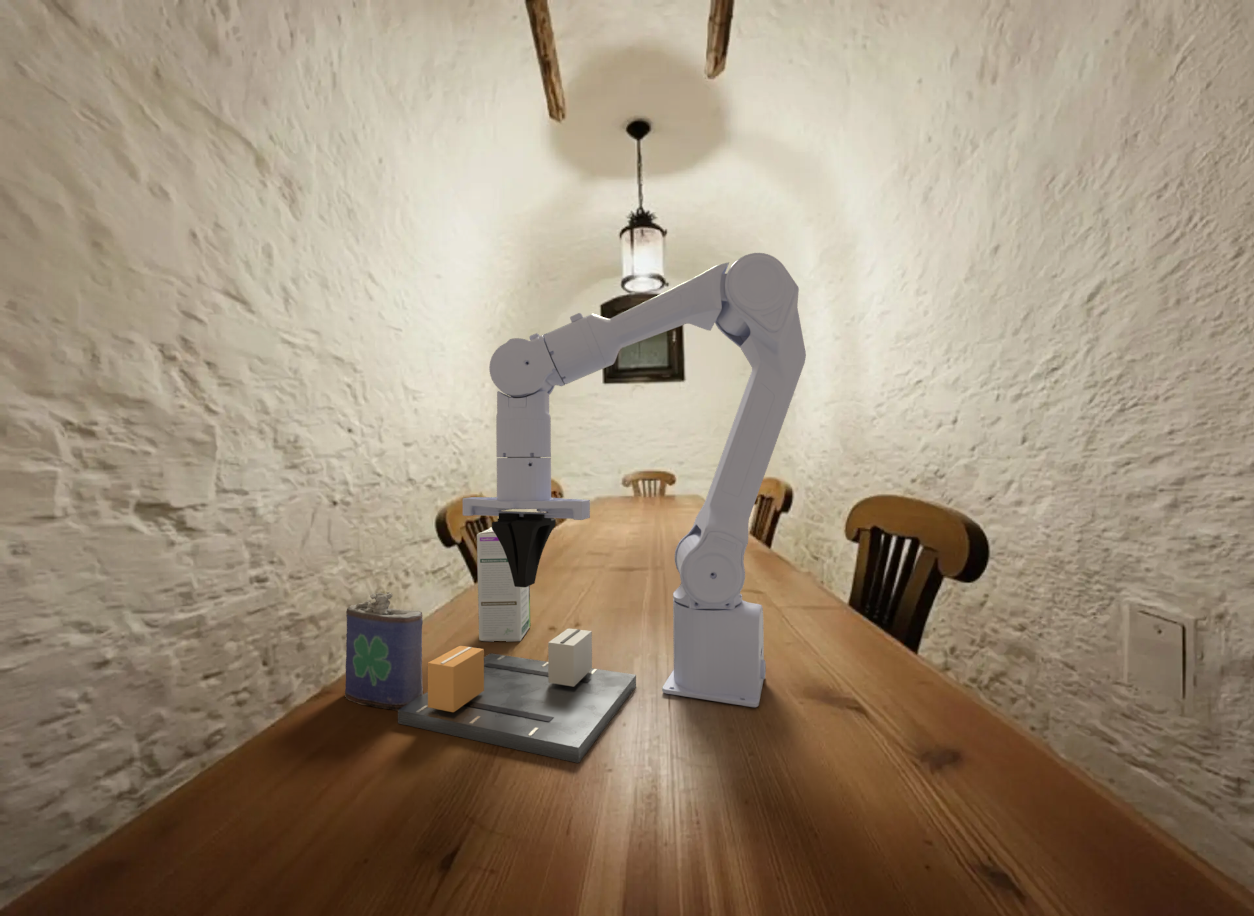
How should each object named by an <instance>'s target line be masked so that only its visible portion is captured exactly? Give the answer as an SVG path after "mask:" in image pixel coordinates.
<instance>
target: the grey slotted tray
mask: <svg viewBox="0 0 1254 916" xmlns="http://www.w3.org/2000/svg"><path fill="white" fill-rule="evenodd" d="M636 687H637V674H632V673H628V672H619V671H613V670H607V669H606V670H605V669H601V668H600V669H599V668H594V667H592V669H591V670H590V671H589V672H588V673H587V674H586V675H585V676H584V677H583V678H582V679H581V680H580V681H579V682H578V683H577V684H576V685H575V686H574V687H573V686H567V685H561V684H555V683H549V677H548V661H546V660H538V659H532V658H526V657H518V656H512V655H511V656H510V655H505V654H498V653H488V654H487V655H484V691H483V692H481V693H480V694H479V695H477V696H476V697H474V698H473V699H472V700H470V701H469V702H467V703H466V704H465V705H463V706H462V707H460V708H459V709H458V710H456V711H455V712H449V711H444V710H439V709H434V708H429V707H428V691H426V692H425V693H423V695H422V696H420V697H418V698H417V699H415V700H413V701H412V702H410V703H408V704H407V705H405V706H404V707H402V708H400V709H399V710H397V724H398V725H399V724H400V725H403V726H408V727H413V728H419V729H422V730H427V731H431V732H437V733H441V734H445V735H449V736H454V737H459V738H462V739H468V740H473V741H477V742H480V743H486V744H490V745H495V746H500V747H503V748H508V749H513V750H518V751H522V752H526V753H531V754H536V755H540V756H545V757H549V758H554V759H559V760H562V761H568V762H572V763H576V764H579V763H580V762H581V761H582V759H583V758H584V757H585V755H586V754H587V753H588V752H589V750H590V748H591V747H592V746H593V745H594V743H595V742H596V740H597V739H598V738H599V737H600V735H601V733H602V732H603V731H604V730H605V729H606V727H607V725H609V723H610V722H611V721H612V719H613V718H614V716H615V715H616V714H617V712H618V711H619V710H620V709H621V707H622V706H623V704H624V703H625V702H626V700H627V699H628V698H629V696H630V695H631V694H632V692H633V691H634V690H635V688H636Z"/></svg>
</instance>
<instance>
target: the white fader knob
mask: <svg viewBox="0 0 1254 916" xmlns="http://www.w3.org/2000/svg"><path fill="white" fill-rule="evenodd" d="M547 643H548V644H547V645H548V646H547V647H548V649H547V650H548V651H547V653H548V656H547V657H548V660H547V662H548V677H549V683H555V684H561V685H567V686H573V687H574V686H575V685H576V684H577V683H578V682H579V681H580V680H581V679H582V678H583V677H584V676H585V675H586V674H587V673H588V672H589V671H590V670H591V669H592V668H593V631H592V630H585V629H579V628H578V629H577V628H566V629H565V630H564V631H562V632H561V633H560V634H558V635H557V636H555V637H554V638H552V639H550V641H548V642H547Z"/></svg>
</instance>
